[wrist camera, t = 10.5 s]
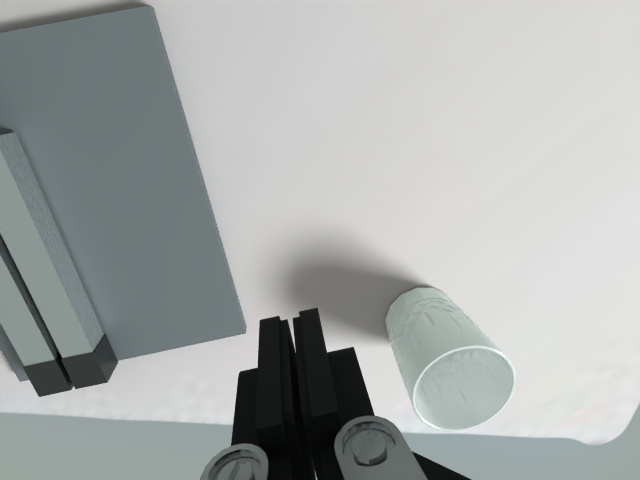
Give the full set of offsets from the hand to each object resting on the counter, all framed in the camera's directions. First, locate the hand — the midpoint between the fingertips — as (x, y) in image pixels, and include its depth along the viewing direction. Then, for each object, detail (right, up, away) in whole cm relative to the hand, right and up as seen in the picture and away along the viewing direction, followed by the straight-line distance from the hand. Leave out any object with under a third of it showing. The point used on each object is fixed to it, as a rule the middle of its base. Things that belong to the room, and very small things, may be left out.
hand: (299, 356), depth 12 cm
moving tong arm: (-22, +4, +20) cm, 29 cm away
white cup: (+10, -4, +28) cm, 30 cm away
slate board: (-18, +5, +21) cm, 28 cm away
